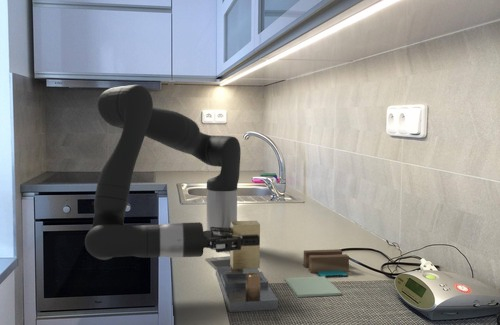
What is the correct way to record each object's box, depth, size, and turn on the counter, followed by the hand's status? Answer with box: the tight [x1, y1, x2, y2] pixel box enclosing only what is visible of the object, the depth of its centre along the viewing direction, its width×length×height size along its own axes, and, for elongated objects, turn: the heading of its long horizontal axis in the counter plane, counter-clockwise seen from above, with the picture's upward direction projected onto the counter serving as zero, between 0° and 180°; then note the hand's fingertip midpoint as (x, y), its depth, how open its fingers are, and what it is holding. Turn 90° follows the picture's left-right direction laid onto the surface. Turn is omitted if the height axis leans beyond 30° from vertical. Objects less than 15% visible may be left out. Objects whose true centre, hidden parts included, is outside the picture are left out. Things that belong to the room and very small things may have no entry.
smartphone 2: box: [315, 271, 349, 278], centre depth 136 cm, size 7×1×15 cm
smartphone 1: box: [204, 255, 230, 271], centre depth 138 cm, size 15×8×1 cm, turn 21°
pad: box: [284, 276, 342, 298], centre depth 121 cm, size 12×10×1 cm
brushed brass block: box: [229, 220, 261, 269], centre depth 118 cm, size 4×6×10 cm, turn 100°
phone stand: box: [302, 248, 350, 274], centre depth 136 cm, size 7×10×4 cm
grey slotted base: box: [215, 265, 279, 313], centre depth 118 cm, size 25×10×7 cm, turn 10°
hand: (257, 237), depth 118 cm, fingers closed on brushed brass block, 4 cm apart
